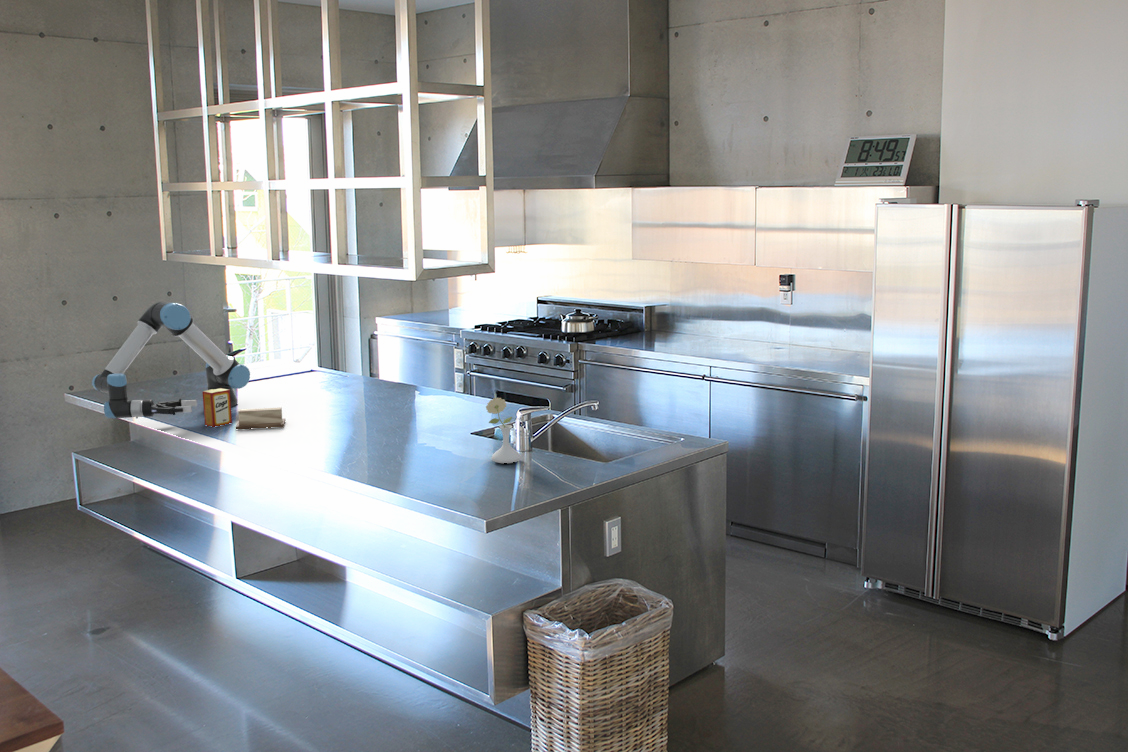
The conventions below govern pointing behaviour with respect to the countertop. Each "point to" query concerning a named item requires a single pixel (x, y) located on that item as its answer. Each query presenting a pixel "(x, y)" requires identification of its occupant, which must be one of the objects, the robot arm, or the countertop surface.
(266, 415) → the ridge stand
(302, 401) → the countertop surface
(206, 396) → the baking soda box
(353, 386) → the countertop surface
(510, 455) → the flower in vase
